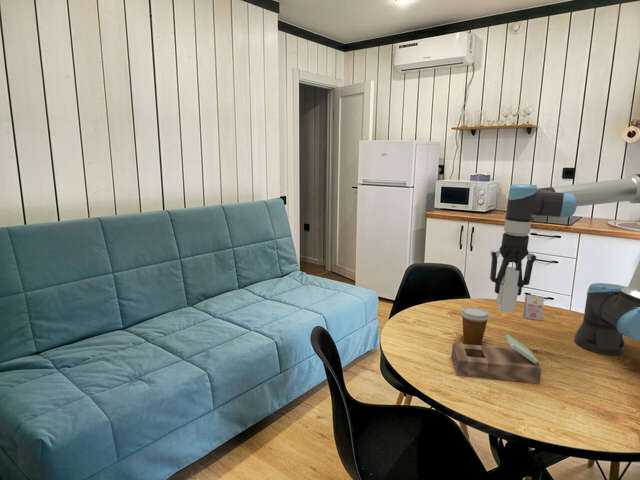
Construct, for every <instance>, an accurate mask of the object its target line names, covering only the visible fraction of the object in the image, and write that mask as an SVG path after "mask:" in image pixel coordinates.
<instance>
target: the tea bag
mask: <svg viewBox="0 0 640 480" xmlns="http://www.w3.org/2000/svg"><path fill="white" fill-rule="evenodd" d="M544 301H545V297H544V296H538V295H531V294H525V296H524V304H523V309H522V310H523V312H522V319H524V320H530V321H536V322H542V318H543V310H544Z"/></svg>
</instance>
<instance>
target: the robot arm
mask: <svg viewBox="0 0 640 480" xmlns="http://www.w3.org/2000/svg"><path fill="white" fill-rule="evenodd" d="M624 202H628V203H630V204H633V205H635V204H640V173H637V174H631V175H628V176H626V178H619V179H611V180H602V181H592V182H585V183H577V184H566V185H559V186H550V187H541V188H540V187H539V188H537V186H536V185H534V184H527V183H525V184H524V183H513V184H511V185H510V187H509V190H508V195H507V204H506V212H505V219H504V224H503V225H504V226H503V233H502V238H501V245H500V247H499V249H496V250H491V251H490V255H491V266H490V274H489V275H490V276H489V278H490V281H491V282H492V283H494V284H495V285H494V293H495V294H496V303H497V305H498V304H501V297H502V290H503V284H502V283H501V282H502V279H503V277H504V274H505V269H507V267H509V264H510V263H514V264H515V267H516V269H517V270H519V277H518V284H517V290H516V297H515V304H514V307H516V306H517V301H518V297H519V296H521V295H522V290H523V287H524V286H529V285H530V283H531V282H530V281H531V276H532V271H533V266H534V262H535V261H536V259H537V256H536V255H535V254H534V253H530V252H529V249H528V246H529V241H530V235H529V234H531V228H532V221H533V220H532V219H533V217H534V216H536V217H553V218H570V217H572V216H573V215H575V213H576V211H577V207H584V206H594V205H604V204H605V205H606V204H612V203H624ZM500 255H501V257H502V262H501V265H500V267H499V270H498V273H497V268H498V258H499V257H500ZM525 258H526V259H527V261H526V264H525V268H524V275H523V269H522V266H523V265H522V264H523V262H522V261H523V260H524V259H525ZM624 337H627V338H629V339H631V340H632V341H633V340H634V341H638V342H640V260H639V261H638V264H637V266H636V267H635V270H634V273H633V275H632V276H631V279H630V281H629V283H628V286H624V285H622V284H621V285H620V284H615V283H614V284H613V283H603V282H594V283H591V284H590V285H589V286H588V288H587V292H586V301H585V307H584V313H583V320H582V322H581V324H580V325H579V327H578V329H577V331H576V332H575V334H574V339H573V341H574V342H575V344H576V345H578V346H579V347H581V348H583V349H585V350H588V351H590V352H593V353H597V354H601V355H606V354H607V356H619V355H618V354H620V355H622V354H624V352H625V347H626V346H625V345H626V343H625V339H624Z"/></svg>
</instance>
